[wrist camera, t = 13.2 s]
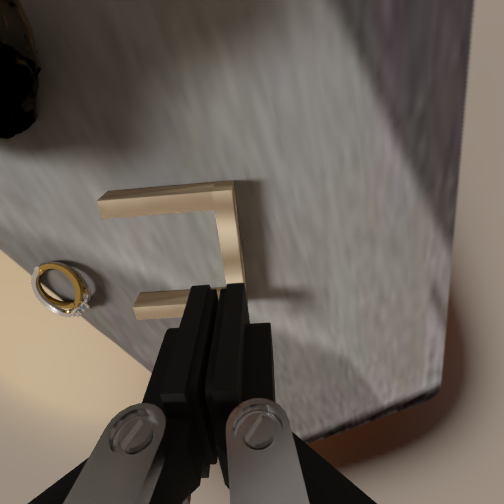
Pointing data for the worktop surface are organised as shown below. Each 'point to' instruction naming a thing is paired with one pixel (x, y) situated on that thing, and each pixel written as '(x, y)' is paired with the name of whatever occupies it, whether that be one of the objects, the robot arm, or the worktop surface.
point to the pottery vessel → (16, 70)
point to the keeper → (180, 201)
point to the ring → (55, 304)
